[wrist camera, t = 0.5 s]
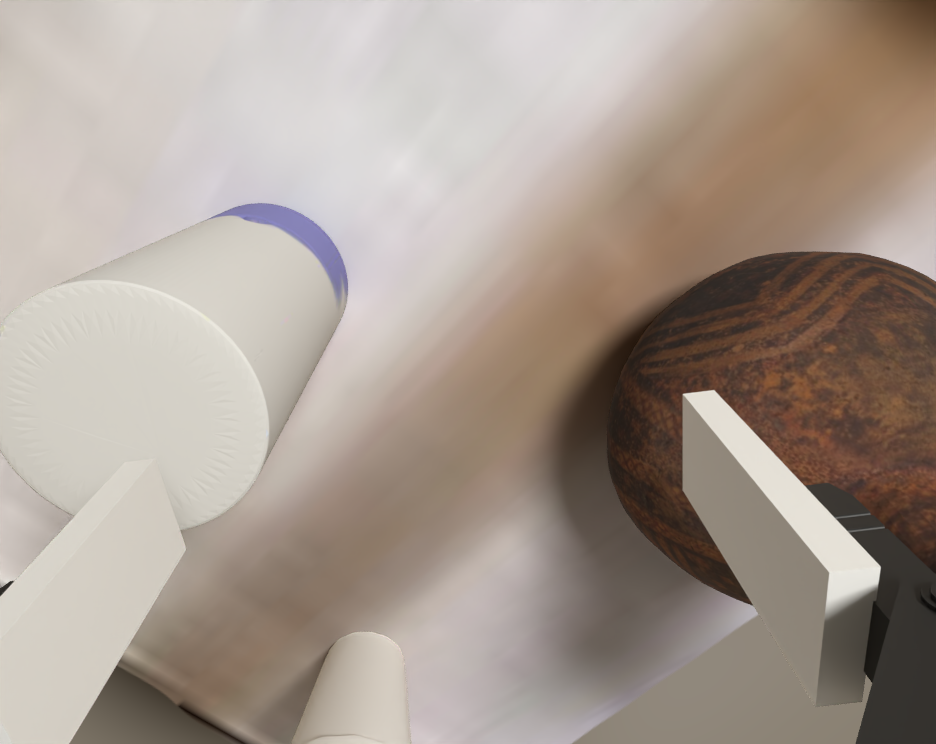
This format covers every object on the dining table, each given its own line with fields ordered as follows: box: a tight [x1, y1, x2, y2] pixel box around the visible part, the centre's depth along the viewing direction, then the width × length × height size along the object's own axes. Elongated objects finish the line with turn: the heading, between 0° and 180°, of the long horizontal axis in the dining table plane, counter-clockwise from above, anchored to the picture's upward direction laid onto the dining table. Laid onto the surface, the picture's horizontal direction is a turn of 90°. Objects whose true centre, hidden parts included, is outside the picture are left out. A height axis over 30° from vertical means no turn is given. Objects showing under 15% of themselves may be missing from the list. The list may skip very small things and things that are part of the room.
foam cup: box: [291, 632, 411, 744], centre depth 47 cm, size 10×9×13 cm
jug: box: [607, 252, 936, 605], centre depth 31 cm, size 22×22×30 cm
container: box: [0, 203, 348, 531], centre depth 32 cm, size 10×10×20 cm
